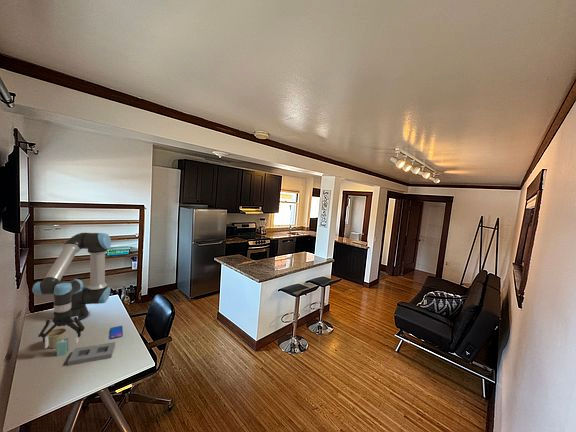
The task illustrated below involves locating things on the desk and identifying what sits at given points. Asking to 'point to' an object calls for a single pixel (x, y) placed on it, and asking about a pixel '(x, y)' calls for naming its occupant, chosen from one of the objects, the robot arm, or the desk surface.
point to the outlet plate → (91, 353)
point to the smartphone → (116, 332)
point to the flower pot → (56, 336)
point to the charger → (62, 347)
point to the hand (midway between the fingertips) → (62, 344)
